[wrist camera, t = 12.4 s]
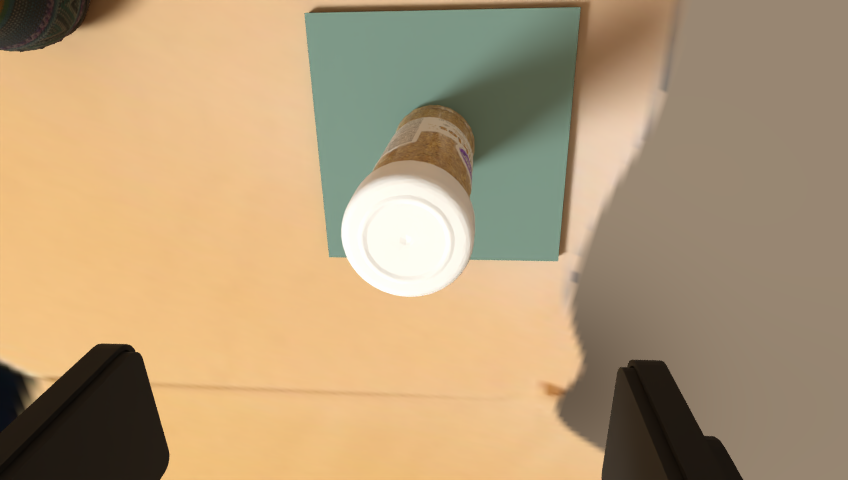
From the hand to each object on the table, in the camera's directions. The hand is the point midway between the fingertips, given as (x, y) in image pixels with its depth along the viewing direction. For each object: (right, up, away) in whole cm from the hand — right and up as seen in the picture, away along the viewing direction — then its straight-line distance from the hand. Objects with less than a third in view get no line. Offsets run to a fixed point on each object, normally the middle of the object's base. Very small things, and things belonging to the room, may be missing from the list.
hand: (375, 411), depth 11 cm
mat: (+2, +9, +20) cm, 22 cm away
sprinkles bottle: (+1, +9, +20) cm, 22 cm away
